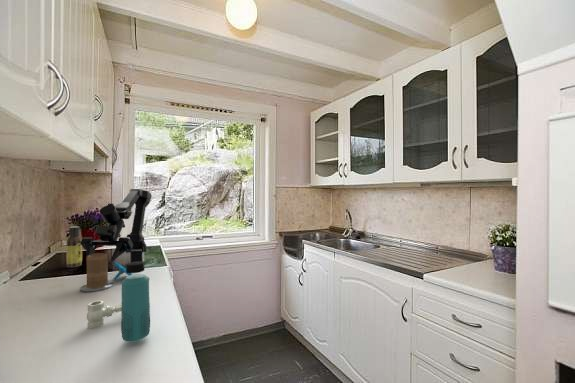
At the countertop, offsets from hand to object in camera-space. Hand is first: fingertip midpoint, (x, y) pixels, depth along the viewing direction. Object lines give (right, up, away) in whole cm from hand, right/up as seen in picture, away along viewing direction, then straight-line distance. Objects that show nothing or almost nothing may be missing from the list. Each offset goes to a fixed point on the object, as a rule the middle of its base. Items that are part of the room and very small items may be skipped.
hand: (99, 261), depth 111 cm
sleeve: (0, -9, -1) cm, 9 cm away
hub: (0, -10, -1) cm, 10 cm away
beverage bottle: (+37, -10, -41) cm, 56 cm away
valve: (+24, -10, -30) cm, 40 cm away
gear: (+4, -10, +10) cm, 15 cm away
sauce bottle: (-32, -10, +28) cm, 44 cm away
